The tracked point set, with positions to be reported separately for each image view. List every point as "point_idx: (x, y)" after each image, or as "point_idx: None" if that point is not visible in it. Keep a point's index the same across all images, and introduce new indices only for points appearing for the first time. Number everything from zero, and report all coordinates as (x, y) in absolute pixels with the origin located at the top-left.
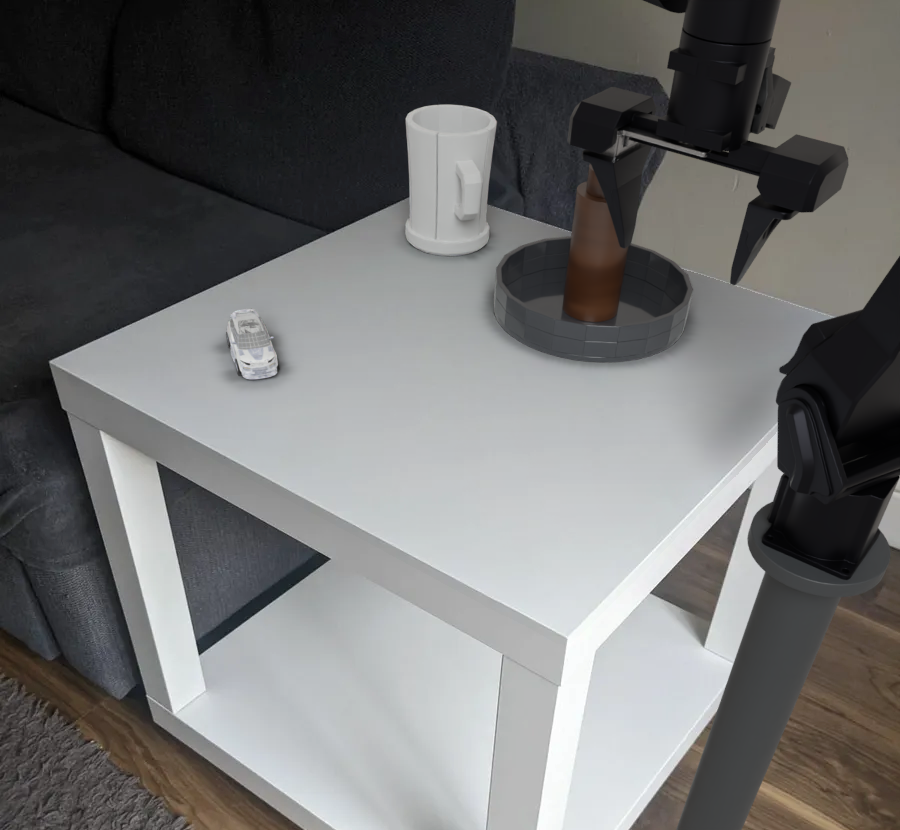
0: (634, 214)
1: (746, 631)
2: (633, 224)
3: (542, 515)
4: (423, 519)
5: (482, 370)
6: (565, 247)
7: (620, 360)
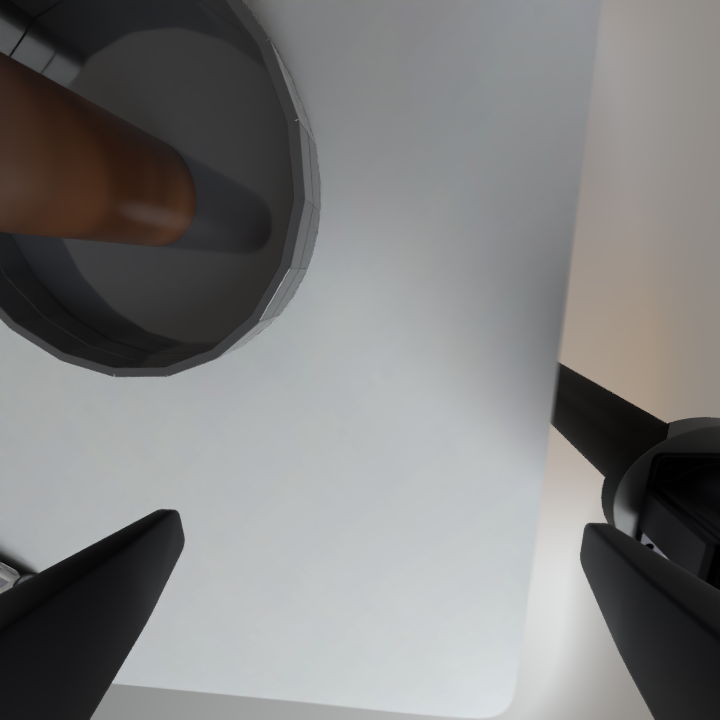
0: (84, 605)
1: (569, 440)
2: (125, 572)
3: (406, 622)
4: (323, 674)
5: (173, 447)
6: None
7: (287, 303)
